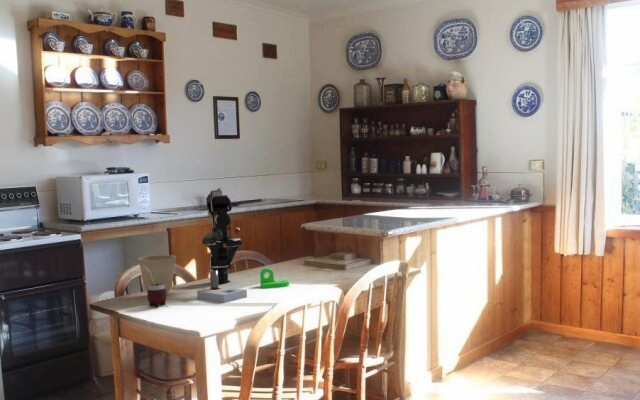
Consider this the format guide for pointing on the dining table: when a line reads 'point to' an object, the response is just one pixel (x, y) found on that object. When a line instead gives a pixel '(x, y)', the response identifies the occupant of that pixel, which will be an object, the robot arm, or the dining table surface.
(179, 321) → the dining table surface
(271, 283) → the mechanical part
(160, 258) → the plant pot
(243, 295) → the socket board
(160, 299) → the mate gourd
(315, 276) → the dining table surface
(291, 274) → the dining table surface
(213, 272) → the pin
